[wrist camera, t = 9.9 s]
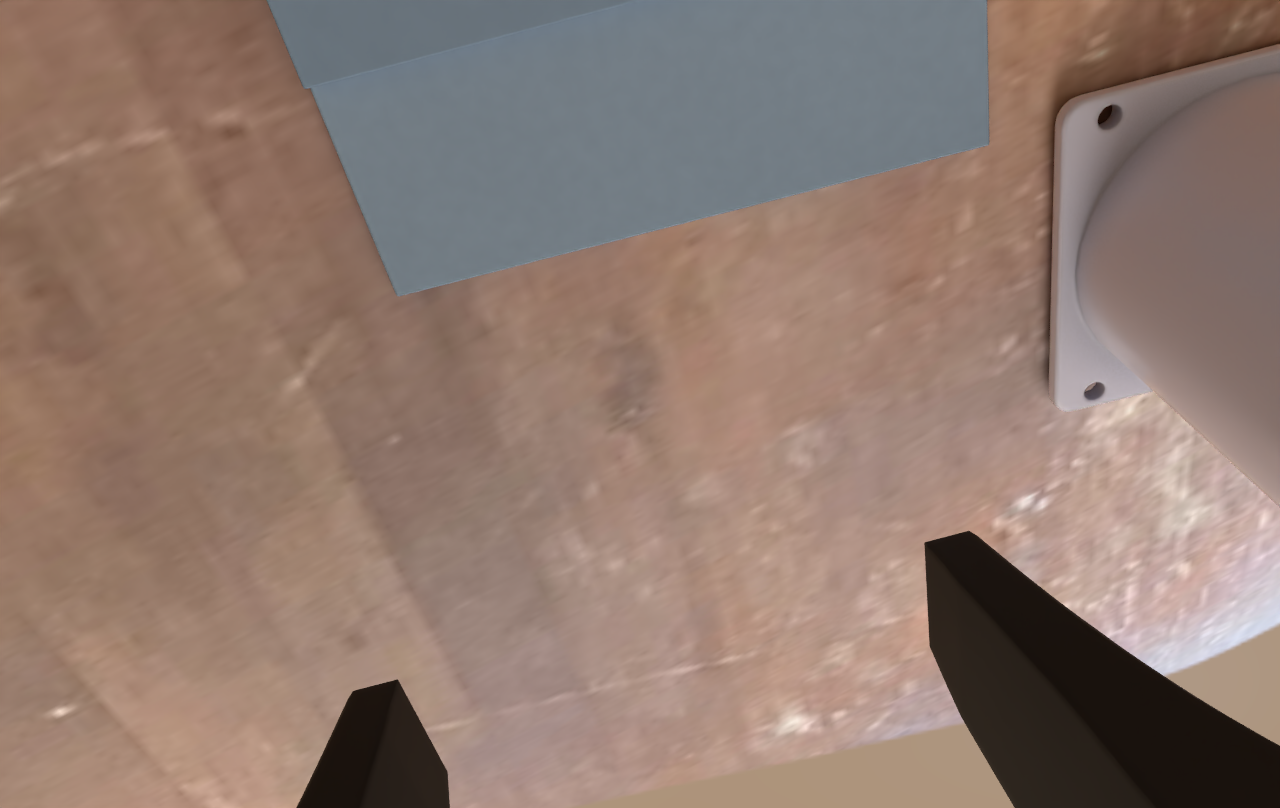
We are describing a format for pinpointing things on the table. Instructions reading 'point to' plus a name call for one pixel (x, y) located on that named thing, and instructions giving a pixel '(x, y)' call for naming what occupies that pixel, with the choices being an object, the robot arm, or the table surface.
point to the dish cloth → (620, 112)
